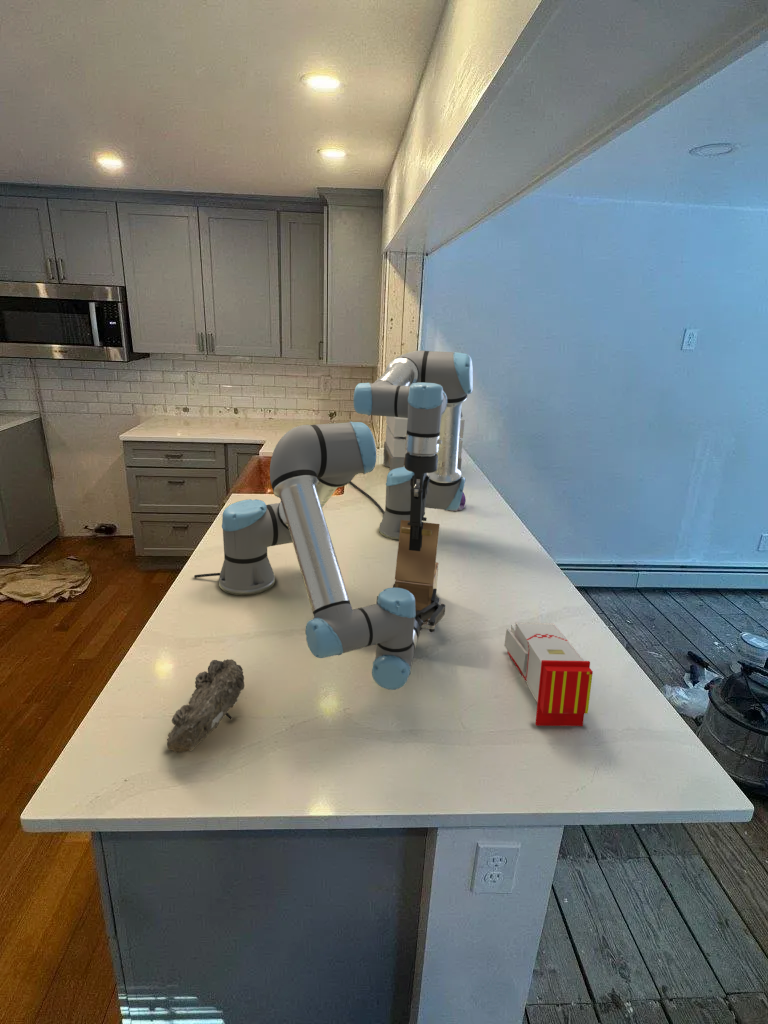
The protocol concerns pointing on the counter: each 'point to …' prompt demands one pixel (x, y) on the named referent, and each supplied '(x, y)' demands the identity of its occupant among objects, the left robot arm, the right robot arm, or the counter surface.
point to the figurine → (461, 503)
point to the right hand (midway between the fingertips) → (415, 548)
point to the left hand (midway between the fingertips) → (414, 590)
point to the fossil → (206, 705)
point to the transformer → (397, 442)
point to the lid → (417, 554)
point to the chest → (420, 590)
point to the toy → (551, 672)
